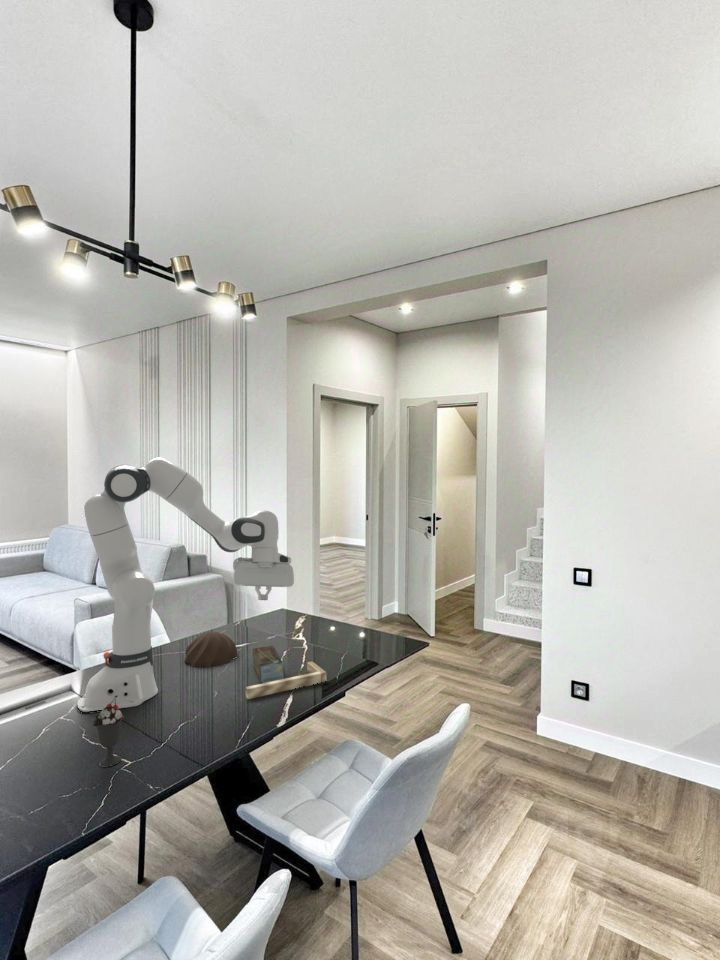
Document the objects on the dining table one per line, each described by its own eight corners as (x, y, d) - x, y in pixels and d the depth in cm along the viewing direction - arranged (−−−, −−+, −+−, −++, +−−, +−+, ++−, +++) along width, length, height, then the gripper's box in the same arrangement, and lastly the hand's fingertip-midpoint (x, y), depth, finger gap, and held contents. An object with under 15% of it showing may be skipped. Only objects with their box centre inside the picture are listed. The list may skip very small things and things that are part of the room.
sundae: (130, 753, 127) (128, 692, 127) (118, 769, 120) (116, 703, 120) (102, 755, 127) (101, 693, 127) (89, 770, 120) (87, 705, 120)
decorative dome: (225, 668, 185) (224, 640, 185) (173, 666, 189) (173, 638, 189) (246, 650, 204) (246, 625, 204) (199, 649, 208) (199, 624, 208)
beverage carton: (260, 684, 169) (259, 664, 169) (252, 665, 187) (251, 646, 187) (284, 680, 172) (283, 660, 172) (274, 662, 190) (274, 644, 190)
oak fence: (247, 699, 157) (247, 689, 157) (237, 685, 168) (237, 676, 168) (326, 681, 169) (326, 672, 169) (312, 670, 180) (312, 661, 180)
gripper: (235, 555, 171) (233, 598, 166) (295, 558, 178) (294, 599, 174) (231, 558, 176) (229, 600, 172) (290, 561, 184) (289, 601, 180)
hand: (262, 600), depth 173 cm, fingers closed
